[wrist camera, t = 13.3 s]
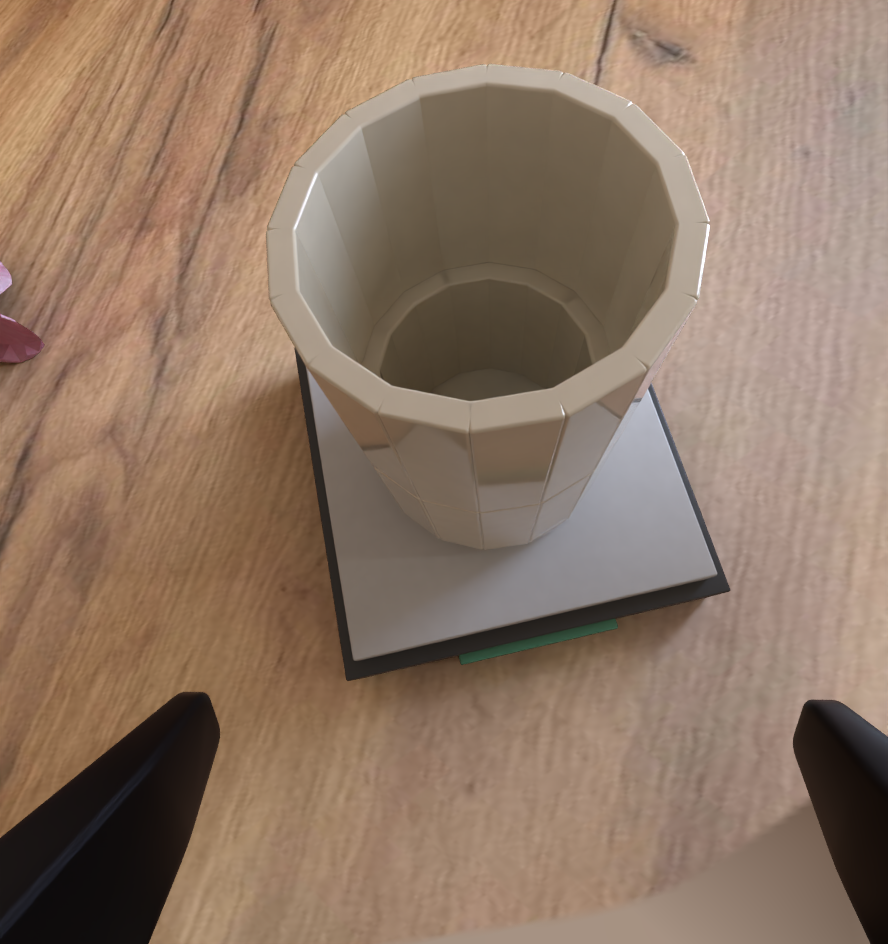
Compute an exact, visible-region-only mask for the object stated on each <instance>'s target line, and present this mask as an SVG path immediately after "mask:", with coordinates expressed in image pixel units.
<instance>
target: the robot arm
mask: <svg viewBox="0 0 888 944" xmlns="http://www.w3.org/2000/svg"><path fill="white" fill-rule="evenodd" d="M219 739H220V727H219V723H218V721H217V718H216V715H215V712H214V709H213V706H212V703H211V700H210V698H209V696H208V695H207V694H206V693H204V692H182V693H179V694H177V695H176V696H174V697H173V698H172V699H171V700H169V701H168V702H167V703H166V704H165V705H163V706H162V707H161V708H160V709H158V710H157V711H156V712H155V713H153V714H152V715H151V716H150V717H149V718H147V719H146V720H145V721H144V722H142V723H141V724H140V725H139V726H137V727H136V728H135V729H134V730H133V731H131V732H130V733H129V734H128V735H126V736H125V737H124V738H123V739H121V740H120V741H119V742H118V743H117V744H115V745H114V746H113V747H112V748H110V749H109V750H108V751H107V752H105V753H104V754H103V755H102V756H101V757H99V758H98V759H97V760H96V761H94V762H93V763H92V764H91V765H89V766H88V767H87V768H86V769H85V770H83V771H82V772H81V773H80V774H78V775H77V776H76V777H75V778H73V779H72V780H71V781H70V782H69V783H67V784H66V785H65V786H64V787H62V788H61V789H60V790H59V791H57V792H56V793H55V794H54V795H53V796H51V797H50V798H49V799H48V800H46V801H45V802H44V803H43V804H41V805H40V806H39V807H38V808H37V809H35V810H34V811H33V812H32V813H30V814H29V815H28V816H27V817H25V818H24V819H23V820H22V821H21V822H19V823H18V824H17V825H16V826H14V827H13V828H12V829H11V830H9V831H8V832H7V833H6V834H5V835H3V836H2V837H1V838H0V944H149V941H150V939H151V936H152V934H153V931H154V929H155V926H156V924H157V921H158V919H159V916H160V914H161V911H162V909H163V907H164V904H165V902H166V899H167V897H168V894H169V892H170V889H171V887H172V884H173V882H174V879H175V877H176V874H177V872H178V869H179V867H180V864H181V862H182V859H183V857H184V854H185V851H186V849H187V846H188V843H189V840H190V837H191V834H192V831H193V828H194V825H195V821H196V818H197V815H198V811H199V808H200V805H201V801H202V798H203V794H204V791H205V788H206V784H207V781H208V778H209V774H210V771H211V768H212V764H213V761H214V758H215V754H216V751H217V748H218V744H219ZM793 748H794V753H795V756H796V759H797V762H798V765H799V768H800V770H801V773H802V776H803V779H804V782H805V784H806V787H807V790H808V793H809V796H810V798H811V801H812V804H813V807H814V810H815V812H816V815H817V818H818V821H819V824H820V827H821V829H822V832H823V835H824V838H825V840H826V843H827V846H828V849H829V852H830V854H831V856H832V859H833V862H834V865H835V867H836V870H837V872H838V874H839V876H840V879H841V881H842V883H843V885H844V888H845V890H846V892H847V894H848V896H849V898H850V901H851V903H852V905H853V907H854V909H855V911H856V914H857V916H858V918H859V920H860V922H861V924H862V926H863V928H864V931H865V933H866V935H867V937H868V939H869V941H870V944H888V737H887V736H886V735H885V734H883V733H882V732H881V731H879V730H878V729H877V728H875V727H874V726H873V725H871V724H870V723H869V722H867V721H866V720H865V719H863V718H862V717H861V716H859V715H858V714H857V713H855V712H854V711H853V710H851V709H850V708H849V707H847V706H846V705H844V704H843V703H841V702H839V701H835V700H809V701H807V702H806V703H805V704H804V706H803V709H802V712H801V715H800V718H799V721H798V724H797V727H796V730H795V733H794V737H793Z"/></svg>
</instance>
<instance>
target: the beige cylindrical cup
mask: <svg viewBox="0 0 888 944" xmlns="http://www.w3.org/2000/svg"><path fill="white" fill-rule="evenodd" d="M709 229H710V228H709V218H708V215H707V212H706V210H705V207H704V204H703V201H702V198H701V196H700V193H699V190H698V187H697V184H696V181H695V179H694V176H693V173H692V170H691V167H690V165H689V162H688V159H687V156H686V155H684V153H683V151H682V150H681V149H680V148H679V147H678V146H677V145H676V144H675V143H674V142H673V141H672V140H671V139H670V138H669V137H668V136H667V135H666V134H665V133H664V132H663V131H662V130H661V129H660V128H659V127H658V126H657V125H656V124H655V123H654V122H653V121H652V120H651V119H650V118H649V117H648V116H647V115H646V114H645V113H644V112H643V111H642V110H641V109H640V108H639V107H638V106H637V105H636V104H632V102H631V101H630V100H628V99H625V98H623V97H621V96H619V95H616V94H614V93H612V92H610V91H607V90H605V89H603V88H601V87H598V86H596V85H594V84H592V83H589V82H587V81H585V80H583V79H580V78H578V77H576V76H573V75H571V74H569V73H563V72H562V71H556V70H546V69H536V68H527V67H517V66H507V65H497V64H488V65H487V66H486V64H481V65H476V66H471V67H466V68H460V69H455V70H450V71H444V72H439V73H434V74H429V75H423V76H418V77H414V78H412V80H411V79H408V80H406V81H404V82H402V83H400V84H398V85H396V86H394V87H392V88H390V89H388V90H386V91H384V92H383V93H381V94H379V95H377V96H375V97H373V98H371V99H369V100H367V101H365V102H363V103H361V104H359V105H357V106H356V107H354V108H352V109H350V110H348V111H346V112H345V114H342V115H341V116H340V117H339V118H338V119H337V120H336V121H335V122H334V123H333V124H332V125H331V126H330V127H329V128H328V129H327V130H326V131H325V132H324V133H323V134H322V135H321V136H320V137H319V138H318V140H317V141H316V142H315V143H314V144H313V145H312V146H311V147H310V148H309V149H308V150H307V151H306V152H305V153H304V154H303V155H302V156H301V157H300V158H299V159H298V160H297V161H296V162H295V164H294V166H293V167H292V168H291V170H290V173H289V175H288V178H287V180H286V182H285V185H284V187H283V190H282V192H281V194H280V197H279V199H278V202H277V204H276V207H275V209H274V211H273V214H272V216H271V219H270V221H269V223H268V226H267V231H266V247H267V268H268V290H269V300H270V302H271V306H272V308H273V310H274V312H275V313H276V315H277V317H278V319H279V320H280V322H281V324H282V326H283V327H284V329H285V331H286V333H287V334H288V336H289V338H290V340H291V341H292V343H293V345H294V347H295V348H296V350H297V352H298V354H299V355H300V357H301V359H302V361H303V362H304V364H305V366H306V367H307V369H308V370H309V372H310V373H311V375H312V376H313V378H314V379H315V381H316V382H317V384H318V385H319V387H320V388H321V390H322V391H323V393H324V394H325V396H326V397H327V399H328V400H329V402H330V403H331V405H332V406H333V408H334V409H335V411H336V412H337V414H338V415H339V417H340V418H341V420H342V421H343V423H344V424H345V426H346V427H347V429H348V430H349V432H350V433H351V435H352V436H353V438H354V439H355V441H356V442H357V444H358V445H359V447H360V448H361V450H362V451H363V453H364V454H365V456H366V457H367V459H368V460H369V462H370V463H371V464H372V466H373V467H374V469H375V470H376V472H377V473H378V475H379V476H380V478H381V479H382V481H383V482H384V484H385V485H386V487H387V488H388V490H389V491H390V493H391V494H392V496H393V497H394V499H395V500H396V502H397V503H398V505H399V506H400V508H401V509H402V511H403V512H404V513H405V514H406V515H407V516H408V517H409V518H411V519H412V520H413V521H415V522H416V523H417V524H419V525H420V526H422V527H423V528H424V529H426V530H427V531H428V532H430V533H431V534H432V535H434V536H435V537H437V538H440V539H441V540H444V541H448V542H452V543H456V544H460V545H464V546H468V547H472V548H477V549H484V550H489V549H496V548H502V547H509V546H516V545H522V544H528V543H529V542H532V541H534V540H535V539H537V538H539V537H540V536H542V535H544V534H545V533H547V532H548V531H550V530H552V529H553V528H555V527H557V526H558V525H560V524H562V523H563V522H565V521H566V520H567V519H569V518H570V516H571V515H572V513H573V512H574V511H575V509H576V508H577V506H578V505H579V504H580V502H581V501H582V499H583V498H584V496H585V495H586V494H587V492H588V491H589V489H590V488H591V487H592V485H593V483H594V482H595V480H596V478H597V476H598V475H599V473H600V471H601V469H602V468H603V466H604V464H605V462H606V461H607V459H608V457H609V456H610V454H611V452H612V450H613V449H614V447H615V445H616V443H617V442H618V440H619V438H620V436H621V435H622V433H623V431H624V429H625V427H626V426H627V424H628V422H629V421H630V419H631V417H632V415H633V414H634V412H635V410H636V408H637V407H638V405H639V403H640V402H641V400H642V398H643V396H644V395H645V393H646V391H647V389H648V388H649V386H650V384H651V382H652V381H653V379H654V377H655V375H656V374H657V372H658V370H659V368H660V367H661V365H662V363H663V362H664V360H665V358H666V356H667V355H668V353H669V351H670V349H671V348H672V346H673V344H674V342H675V341H676V339H677V337H678V335H679V334H680V332H681V330H682V328H683V327H684V325H685V323H686V322H687V320H688V318H689V316H690V315H691V313H692V311H693V309H694V308H695V306H696V303H697V300H698V299H699V295H700V288H701V282H702V275H703V269H704V262H705V255H706V249H707V242H708V236H709Z"/></svg>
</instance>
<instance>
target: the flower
mask: <svg viewBox="0 0 888 944" xmlns="http://www.w3.org/2000/svg"><path fill="white" fill-rule="evenodd" d="M11 285H12V279H11V275H10V273H9V271H8V269H7V268H5V267H4V266H3V264H2V263H1V262H0V294H1V293H3V292H4V291H5V290H6V289H7V288H8V287H9V286H11ZM43 347H44V343H43V342H42V340H41V339H40V338H39V337H38V336H37V335H36V334H34V333H33V332H32V331H30V330H29V329H27V328H25V327H24V326H22V325H21V324H19V323H18V322H16V321H15V320H13V319H12V318H10V317H7V316H4V315H1V314H0V362H8V363H15V362H23V361H26V360H29V359H31V358H33V357H34V356H35V355H37V354H38V353H39V352H40V351H41V349H42V348H43Z"/></svg>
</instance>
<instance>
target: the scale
mask: <svg viewBox="0 0 888 944" xmlns="http://www.w3.org/2000/svg"><path fill="white" fill-rule="evenodd" d="M295 354H296V361H297V367H298V373H299V380H300V386H301V393H302V399H303V406H304V412H305V418H306V425H307V431H308V438H309V444H310V450H311V457H312V463H313V470H314V476H315V482H316V489H317V495H318V502H319V508H320V514H321V521H322V527H323V534H324V540H325V546H326V553H327V559H328V566H329V572H330V579H331V585H332V591H333V598H334V604H335V611H336V617H337V623H338V630H339V636H340V643H341V649H342V655H343V662H344V668H345V675H346V680H347V681H351V680H356V679H361V678H365V677H370V676H374V675H378V674H382V673H387V672H391V671H395V670H399V669H404V668H408V667H412V666H416V665H421V664H425V663H429V662H434V661H438V660H442V659H446V658H451V657H455V656H459V659H460V664H461V665H463V664H468V663H472V662H476V661H480V660H485V659H489V658H493V657H497V656H502V655H506V654H510V653H515V652H519V651H523V650H527V649H532V648H536V647H540V646H544V645H549V644H553V643H557V642H561V641H566V640H570V639H574V638H578V637H583V636H587V635H591V634H596V633H600V632H604V631H608V630H613V629H617V628H618V626H617V622H616V619H617V618H621V617H625V616H629V615H634V614H638V613H642V612H646V611H651V610H655V609H659V608H663V607H668V606H672V605H676V604H680V603H685V602H689V601H693V600H697V599H702V598H706V597H710V596H714V595H718V594H721V593H725V592H729V591H730V588H729V585H728V583H727V580H726V577H725V575H724V572H723V569H722V567H721V564H720V561H719V559H718V556H717V554H716V551H715V548H714V546H713V543H712V540H711V538H710V535H709V533H708V530H707V527H706V525H705V522H704V519H703V517H702V514H701V512H700V509H699V506H698V504H697V501H696V498H695V496H694V493H693V491H692V488H691V485H690V483H689V480H688V477H687V475H686V472H685V470H684V467H683V464H682V462H681V459H680V456H679V454H678V451H677V449H676V446H675V443H674V441H673V438H672V435H671V433H670V430H669V428H668V425H667V422H666V420H665V417H664V414H663V412H662V409H661V407H660V404H659V401H658V399H657V396H656V393H655V391H654V388H653V386H652V383H651V384H650V386H649V388H648V389H647V391H646V393H645V395H644V396H643V398H642V400H641V402H640V403H639V405H638V407H637V408H636V410H635V412H634V414H633V415H632V417H631V419H630V421H629V422H628V424H627V426H626V427H625V429H624V431H623V433H622V435H621V436H620V438H619V440H618V442H617V443H616V445H615V447H614V449H613V450H612V452H611V454H610V456H609V457H608V459H607V461H606V462H605V464H604V466H603V468H602V469H601V471H600V473H599V475H598V476H597V478H596V480H595V482H594V483H593V485H592V487H591V488H590V489H589V491H588V492H587V494H586V495H585V496H584V498H583V499H582V501H581V502H580V504H579V505H578V506H577V508H576V509H575V511H574V512H573V513H572V515H571V516H570V518H569V519H567V520H566V521H565V522H563V523H562V524H560V525H558V526H557V527H555V528H553V529H552V530H550V531H548V532H547V533H545V534H544V535H542V536H540V537H539V538H537V539H535V540H534V541H532V542H529V543H528V544H522V545H516V546H509V547H502V548H496V549H489V550H484V549H477V548H472V547H468V546H464V545H460V544H456V543H452V542H448V541H444V540H441V539H440V538H437V537H435V536H434V535H432V534H431V533H430V532H428V531H427V530H426V529H424V528H423V527H422V526H420V525H419V524H417V523H416V522H415V521H413V520H412V519H411V518H409V517H408V516H407V515H406V514H405V513H404V512H403V511H402V509H401V508H400V506H399V505H398V503H397V502H396V500H395V499H394V497H393V496H392V494H391V493H390V491H389V490H388V488H387V487H386V485H385V484H384V482H383V481H382V479H381V478H380V476H379V475H378V473H377V472H376V470H375V469H374V467H373V466H372V464H371V463H370V462H369V460H368V459H367V457H366V456H365V454H364V453H363V451H362V450H361V448H360V447H359V445H358V444H357V442H356V441H355V439H354V438H353V436H352V435H351V433H350V432H349V430H348V429H347V427H346V426H345V424H344V423H343V421H342V420H341V418H340V417H339V415H338V414H337V412H336V411H335V409H334V408H333V406H332V405H331V403H330V402H329V400H328V399H327V397H326V396H325V394H324V393H323V391H322V390H321V388H320V387H319V385H318V384H317V382H316V381H315V379H314V378H313V376H312V375H311V373H310V372H309V370H308V369H307V367H306V366H305V364H304V362H303V361H302V359H301V357H300V355H299V354H298V352H297V350H296V348H295Z"/></svg>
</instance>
